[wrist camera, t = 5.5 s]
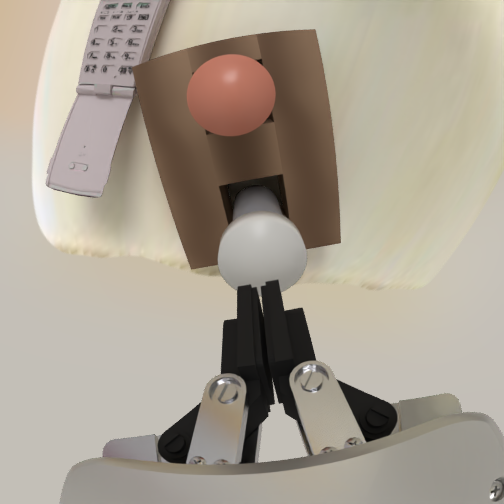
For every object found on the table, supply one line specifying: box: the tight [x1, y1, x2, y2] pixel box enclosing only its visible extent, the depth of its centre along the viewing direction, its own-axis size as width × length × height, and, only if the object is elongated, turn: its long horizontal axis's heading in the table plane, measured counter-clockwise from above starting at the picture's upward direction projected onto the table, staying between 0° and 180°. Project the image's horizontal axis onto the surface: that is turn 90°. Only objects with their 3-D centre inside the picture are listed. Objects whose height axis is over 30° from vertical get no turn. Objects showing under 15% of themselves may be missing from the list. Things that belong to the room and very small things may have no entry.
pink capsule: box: [187, 54, 276, 136], centre depth 15 cm, size 4×4×7 cm
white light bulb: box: [218, 185, 307, 296], centre depth 17 cm, size 4×4×7 cm
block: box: [132, 29, 341, 269], centre depth 19 cm, size 12×16×5 cm
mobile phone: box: [46, 0, 170, 198], centre depth 14 cm, size 6×6×25 cm
